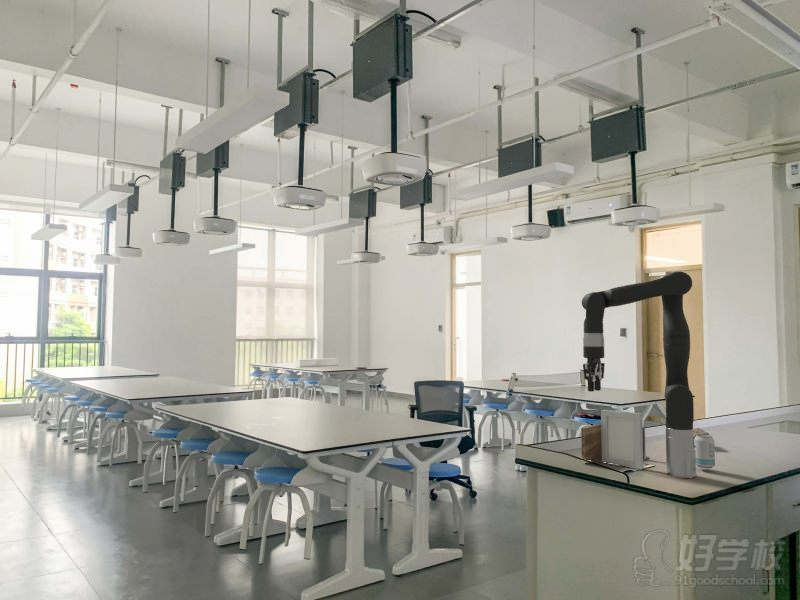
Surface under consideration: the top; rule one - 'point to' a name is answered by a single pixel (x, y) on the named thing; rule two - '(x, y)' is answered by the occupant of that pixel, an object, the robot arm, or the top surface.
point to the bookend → (644, 445)
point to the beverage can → (704, 451)
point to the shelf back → (591, 442)
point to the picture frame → (622, 438)
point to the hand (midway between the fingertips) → (594, 390)
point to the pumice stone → (698, 431)
